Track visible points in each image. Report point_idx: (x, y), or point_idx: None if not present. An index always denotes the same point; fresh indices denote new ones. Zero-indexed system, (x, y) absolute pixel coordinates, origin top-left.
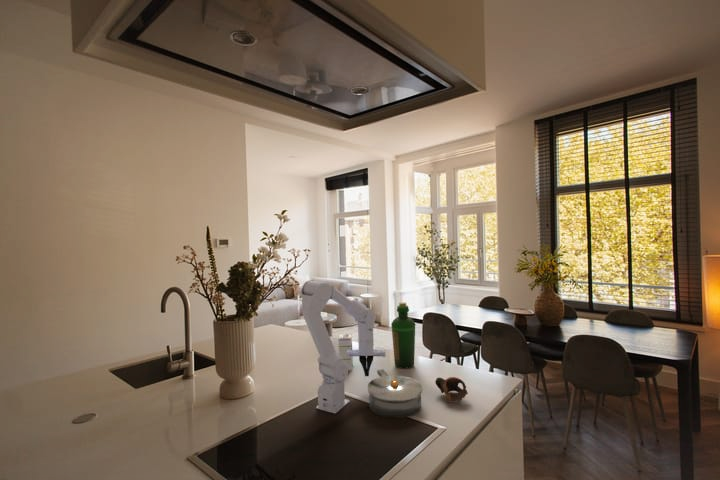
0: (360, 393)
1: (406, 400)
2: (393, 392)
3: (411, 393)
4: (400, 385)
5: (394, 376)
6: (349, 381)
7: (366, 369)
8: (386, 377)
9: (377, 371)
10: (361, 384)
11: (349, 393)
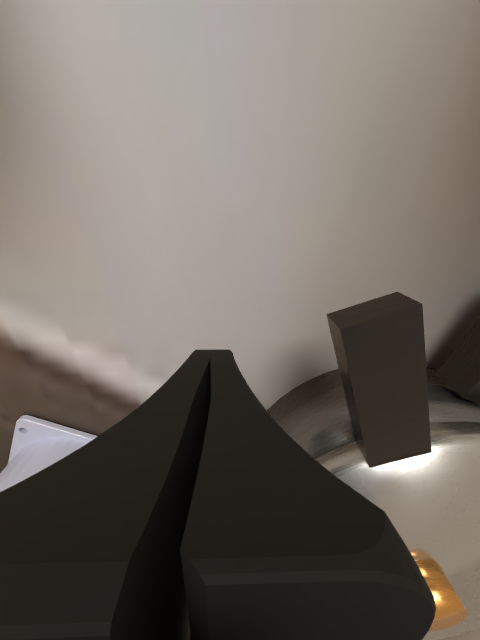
0: (181, 365)
1: None
2: None
3: (475, 620)
4: (455, 568)
5: (475, 465)
6: (42, 161)
7: (204, 419)
8: (397, 483)
9: (335, 325)
10: (164, 229)
11: (113, 366)
